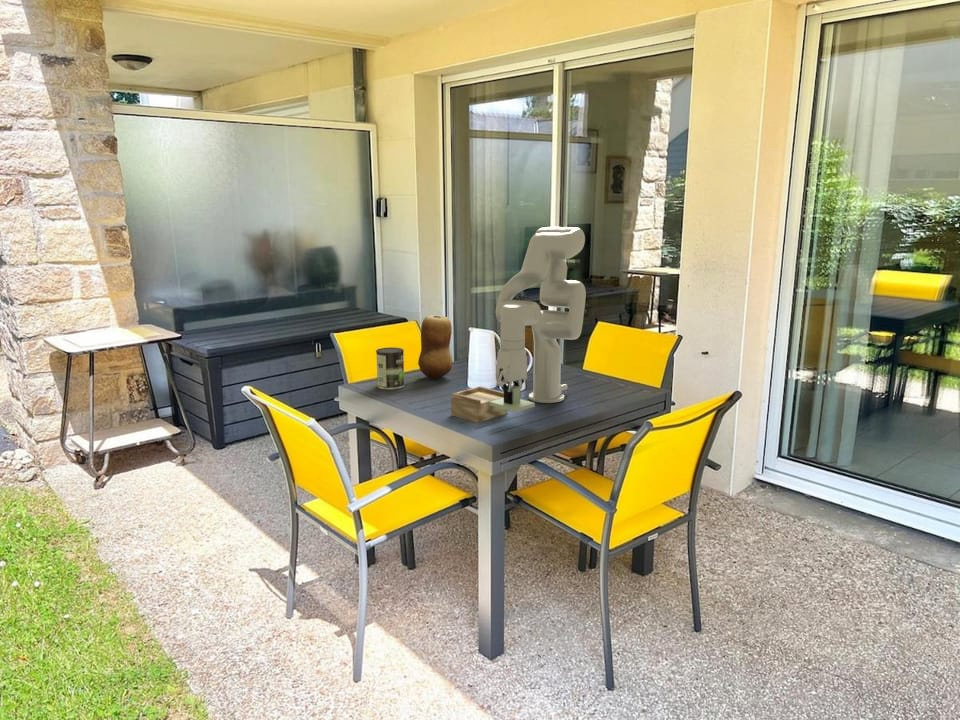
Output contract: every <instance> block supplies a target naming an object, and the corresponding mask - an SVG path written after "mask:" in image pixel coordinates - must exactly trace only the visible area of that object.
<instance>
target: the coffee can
mask: <svg viewBox="0 0 960 720" xmlns="http://www.w3.org/2000/svg"><path fill="white" fill-rule="evenodd" d="M404 351H405V350H404V349H403V348H402V347H396V346H395V347H394V346H393V347H392V346H391V347H381V348H377V349H376V350H375V353H376V372H377V376H376V377H377V388H378V389H380V390H387V391H388V390H399V389H402V388H404V387H405V364H404V363H405V359H404V355H405V354H404Z"/></svg>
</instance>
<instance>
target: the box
mask: <svg viewBox="0 0 960 720" xmlns="http://www.w3.org/2000/svg"><path fill="white" fill-rule="evenodd" d="M451 394H452V395H451V397H450V415H451V416H452V417H453V416H454V417H456V418H458V419H459V418H460V419H464V420H466V421H470V422H473V423H476V424H478V423H481V422H482V423H483V422H484V421H488V420H490V419H493V418H497V417H500V416H504V415H507V414H508V410H505V409H501V408H497V407H494V406H490V405H489V402H490V401H493V400H497V399H500V398H504V391H500V390H496V389H492V388H488V387H485V386H480V385H479V386H475V387H471V388H468V389H465V390H461V391H456V392H452V393H451Z"/></svg>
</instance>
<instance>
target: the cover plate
mask: <svg viewBox="0 0 960 720" xmlns="http://www.w3.org/2000/svg"><path fill="white" fill-rule="evenodd" d="M520 390H521V389H520V387H518V386H514V385H513V384H512V386H511V392H512V404H507V403H504V398H500V399H497V400H493V401H490V402H489V405H490V406H494V407H497V408H501V409H505V410H507V412H508V411H509V412H512V413H519V412H521V411H524V410H528V409H532V408H535V407H536V406H535V405H536V404H535V403H536V402H535V401H531V400H530V401H529V400H526V399H522V398H521V391H520Z"/></svg>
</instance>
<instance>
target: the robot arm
mask: <svg viewBox="0 0 960 720" xmlns="http://www.w3.org/2000/svg"><path fill="white" fill-rule="evenodd" d="M585 242H586V236H585V233H584V231H583V230H582V228H580V227H573V226H572V227H570V226H569V227H568V226H567V227H566V226H564V227H561V226H545V227H540V228H539V229H537V230H536V231H535V234H533V235H532V236H531V238H530V240H529V243H528V246H527V250H526V253H525V256H524V260H523V263H522V265H521V270H520V271H519V272H518V273H516V274H515V275H513V276H512V277H511V278H510V279H509V280H508V281H507V282H506V283H505V284H504V285H503V286H502V288H501V290H500V292H499V296H498V299H497V302H496V306H495V318H496V319H497V321H498V322H499V323H500V337H499V340H500V345H499V346H500V349H498V352H497V357H496V363H495V364H496V367H495V380H496V386H497V387H500V388H501V390H502V392H504V403H507V404H512V392H511V386H512V385H514V386H518V387H520V392H521V390H522V389H523V384H524V383H525V381H526V380H527V379H528V375H527V374H528V359H527V357H528V356H527V351H526V347H525V345H526V327H527V326H528V327H530V326H531V331H532V335H533V336H532V337H533V376H532V377H533V378H532V379H533V380H532V381H533V382H532V385H533V386H532V387H533V389H532V392H531V393H530V392H529V394H528V399H529V400H530V401H531V402H534V403H541V404H553V403H554V404H555V403H560V402H562V401H564V400H565V395H564V394H563V393H562V391H565V390H567V389H568V384H566V383H565V384H561V370H562V369H561V368H562V367H561V364H562V349H561V346H560V345H559V342H558V341H557V340H558V339H559V340H568V341H569V340H571V341H573V340H574V341H575V340H577V339H579V337H581V334H582V331H583V330H582V329H583V324H584V316H585V315H584V314H585V306H586V296H587V293H586V292H587V291H586V287H585V285H584V283H582V282H581V281H578V280H573V279H569V280H567V276H568V265H567V262H566V261H565V260H569V259H572V258H573V257H575V256H577V255H578V254H579V253H580V252H581V251H582V250H583V248H584V247H585V246H584V245H585ZM537 285H540V288H539V302H540V304H541V305H543V306H546V307H550V308H552V307H553V308H563V309H568V310H569V311H563V310H554V309H553V310H551V309H549V310H548V309H544V310H542V309H541V306H540V305H539V304H538V303H537V302H534V301H530V300H529V301H528V300H527V301H526V300H517V299H516V300H515V299H514V298H515V297H516V295H517V294H519V293H520V292H522V291H524V290H527V289H529V288H532V287H536V286H537ZM556 339H557V340H556Z"/></svg>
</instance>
